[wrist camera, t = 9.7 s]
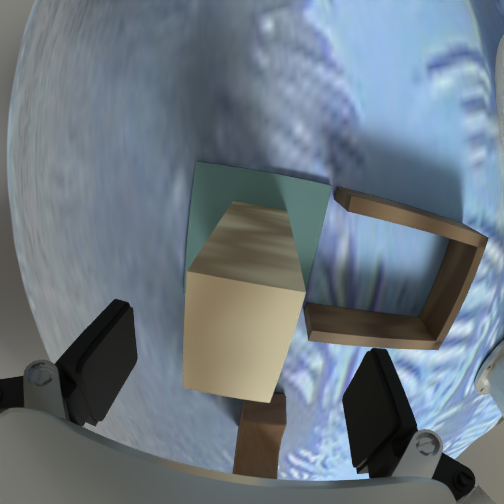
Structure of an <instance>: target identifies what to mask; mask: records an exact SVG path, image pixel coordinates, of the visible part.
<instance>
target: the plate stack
mask: <svg viewBox="0 0 504 504" xmlns="http://www.w3.org/2000/svg"><path fill="white" fill-rule="evenodd" d="M495 90H496V104H497V114H498V122H499V130H500V137H501V143H502V149H503V155H504V35H503V36H502V38H501V40H500V42H499V46H498V49H497V55H496V64H495Z"/></svg>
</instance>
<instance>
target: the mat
mask: <svg viewBox="0 0 504 504" xmlns="http://www.w3.org/2000/svg"><path fill="white" fill-rule="evenodd" d="M331 187H332V186H331V185H328V184H324V183H319V182H315V181H310V180H305V179H300V178H296V177H291V176H285V175H280V174H275V173H269V172H264V171H258V170H252V169H246V168H240V167H233V166H227V165H220V164H212V163H205V162H196V165H195V172H194V180H193V188H192V197H191V206H190V215H189V226H188V236H187V248H186V261H185V276H184V293H185V294H186V279H187V270H188V269H189V267H190V266H191V264H192V263H193V261H194V259H195V258H196V256H197V255H198V253H199V252H200V250H201V249H202V247H203V245H204V244H205V242H206V241H207V239H208V238H209V236H210V235H211V233H212V232H213V230H214V229H215V227H216V226H217V224H218V223H219V221H220V220H221V218H222V217H223V215H224V214H225V212H226V211H227V209H228V208H229V206H230V205H231V203H232V202H233V201H236V202H242V203H247V204H253V205H259V206H264V207H270V208H275V209H281V210H286V211H287V212H288V216H289V220H290V225H291V229H292V233H293V237H294V241H295V245H296V250H297V254H298V258H299V263H300V267H301V272H302V276H303V281H304V285H305V290H306V287H307V283H308V280H309V276H310V272H311V269H312V265H313V261H314V257H315V254H316V250H317V246H318V242H319V238H320V234H321V230H322V226H323V222H324V218H325V213H326V209H327V205H328V201H329V196H330V192H331Z"/></svg>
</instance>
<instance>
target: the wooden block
mask: <svg viewBox="0 0 504 504" xmlns="http://www.w3.org/2000/svg"><path fill="white" fill-rule="evenodd" d="M286 424H287V421H286V396H285V394H282V393H273V395H272V398H271V401H270V403H266V402H259V401H252V400H245V399H244V402H243V407H242V412H241V417H240V422H239V427H238V434H237V442H236V450H235V458H234V466H233V473H232V474H236V475H243V476H250V477H258V478H268V479H277V471H278V458H279V450H280V445H281V439H282V436H283V433H284V430H285V427H286Z"/></svg>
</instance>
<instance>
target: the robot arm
mask: <svg viewBox="0 0 504 504" xmlns="http://www.w3.org/2000/svg"><path fill="white" fill-rule="evenodd" d="M136 362H137V347H136V338H135V327H134V314H133V308H132V307H130V304H129V303H128V302H125V301H122V300H118V299H114V300H113V301H112V302H111V303H110V304H109V305H108V306H107V307H106V309H105V310H104V311H103V312H102V313H101V314H100V315H99V316H98V317H97V318H96V319H95V320H94V321H93V322H92V323H91V324H90V325H89V326H88V327H87V328H86V329H85V330H84V331H83V332H82V334H81V335H80V336H79V337H78V338H77V339H76V340H75V341H74V342H73V344H72V345H71V346H70V347H69V348H68V349H67V350H66V351H65V353H64V354H63V355H62V356H61V357H60V358H59V359H58V361H57V362H56V363H55V364H54V363H52V362H50V361H47V360H37V361H34V362H32V363H30V364H29V365H28V366H27V367H26V369H25V370H24V375H23V376H19V377H13V378H7V379H0V504H495V502H494V501H493V500H492V499H491V498H490V497H489V496H488V495H487V494H486V493H485V492H484V491H483V490H482V489H481V488H480V487H479V485H477V486H476V487H475V486H474V485H475V476H474V474H473V472H472V471H471V470H470V469H469V468H468V467H466V466H464V465H463V464H461V463H459V462H457V461H455V460H454V459H452V458H451V457H449V456H447V455H446V454H444V453H442V451H443V443H442V440H441V438H440V437H439V436H438V434H436V433H435V432H433V431H431V430H427V429H423V430H419V431H418V429H417V423H416V421H415V418H414V415H413V412H412V410H411V407H410V405H409V402H408V399H407V397H406V394H405V392H404V389H403V387H402V384H401V382H400V379H399V377H398V374H397V372H396V370H395V367H394V365H393V363H392V360H391V358H390V356H389V353H388V351H387V350H386V349H381V348H372V349H371V350H370V351H368V352H367V353H366V354H365V356H364V358H363V360H362V362H361V364H360V366H359V368H358V370H357V371H356V373H355V375H354V377H353V379H352V381H351V382H350V384H349V386H348V388H347V389H346V391H345V393H344V395H343V399H342V402H343V408H344V414H345V419H346V425H347V431H348V438H349V444H350V451H351V458H352V464H353V467H354V468H356V470H357V474H363V473H369V479H359V480H339V481H298V480H280V479H268V478H258V477H250V476H243V475H236V474H230V473H224V472H219V471H213V470H208V469H204V468H199V467H195V466H191V465H187V464H183V463H179V462H175V461H172V460H168V459H165V458H161V457H158V456H155V455H152V454H149V453H146V452H143V451H140V450H137V449H134V448H132V447H129V446H126V445H124V444H121V443H119V442H116V441H113V440H111V439H108V438H106V437H104V436H101V435H99V434H97V433H94V432H92V431H90V430H88V429H86V428H83V427H82V426H83V425H84V424H85V422H87V423H89V424H91V425H93V426H96V424H97V423H98V421H102V420H103V419H104V418H105V416H106V414H107V412H108V411H109V409H110V407H111V405H112V403H113V402H114V400H115V398H116V397H117V395H118V393H119V391H120V390H121V388H122V386H123V385H124V383H125V381H126V379H127V378H128V376H129V374H130V373H131V371H132V369H133V368H134V366H135V364H136ZM474 386H475V389H476V391H477V393H478V394H480V395H485V394H489V393H490V395H491V396H492V398H493V400H494V401H495V403H496V405H497V407H498V408H499V410H500V412H501V414H502V415H503V417H504V340H502V342H501V343H500V344H499V345H498V346H497V347H496V348H495V349H494V350H493V351H492V352H491V354H490V355H489V356H488V358H487V359H486V360H485V362H484V363H483V365H482V367H481V368H480V370H479V372H478V374H477V376H476V379H475V384H474Z"/></svg>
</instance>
